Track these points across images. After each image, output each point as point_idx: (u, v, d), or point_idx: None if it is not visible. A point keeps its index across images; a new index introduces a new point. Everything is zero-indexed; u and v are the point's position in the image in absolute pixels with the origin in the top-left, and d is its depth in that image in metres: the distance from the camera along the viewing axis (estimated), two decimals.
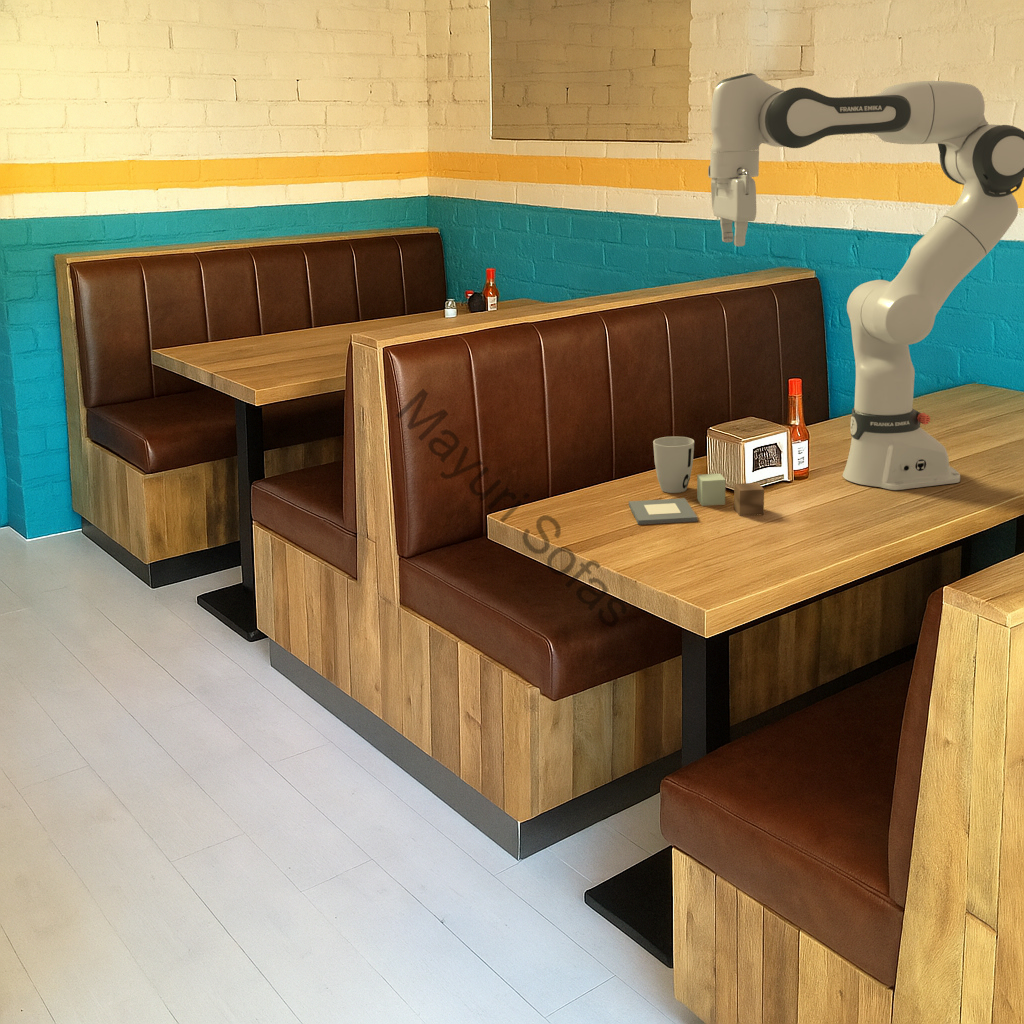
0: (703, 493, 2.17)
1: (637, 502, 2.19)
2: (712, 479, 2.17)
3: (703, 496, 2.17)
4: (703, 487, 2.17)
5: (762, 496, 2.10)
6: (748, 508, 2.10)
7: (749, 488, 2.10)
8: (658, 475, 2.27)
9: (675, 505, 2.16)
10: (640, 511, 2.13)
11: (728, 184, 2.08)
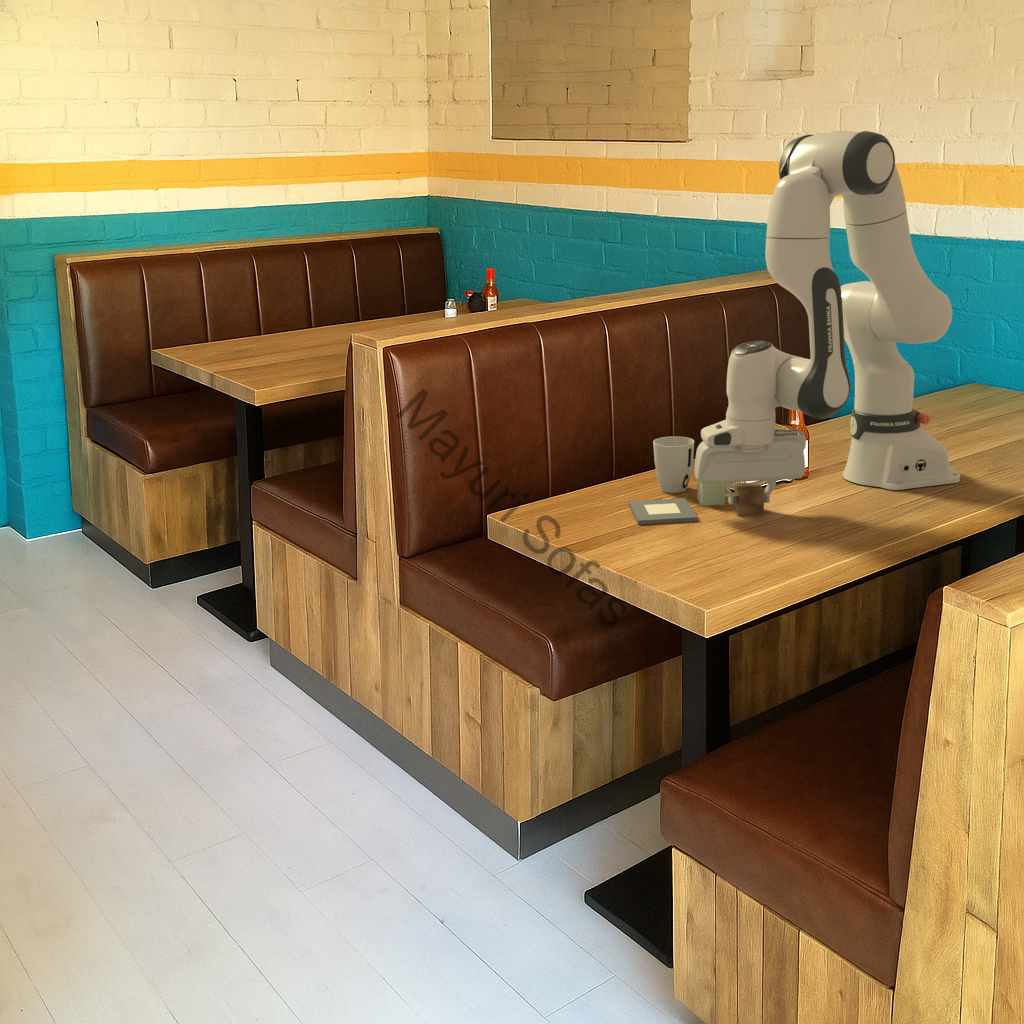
0: (703, 493, 2.17)
1: (637, 502, 2.19)
2: None
3: (703, 496, 2.17)
4: (703, 487, 2.17)
5: (762, 496, 2.10)
6: (748, 508, 2.10)
7: (749, 487, 2.10)
8: (658, 475, 2.27)
9: (675, 505, 2.16)
10: (640, 511, 2.13)
11: (769, 447, 2.07)
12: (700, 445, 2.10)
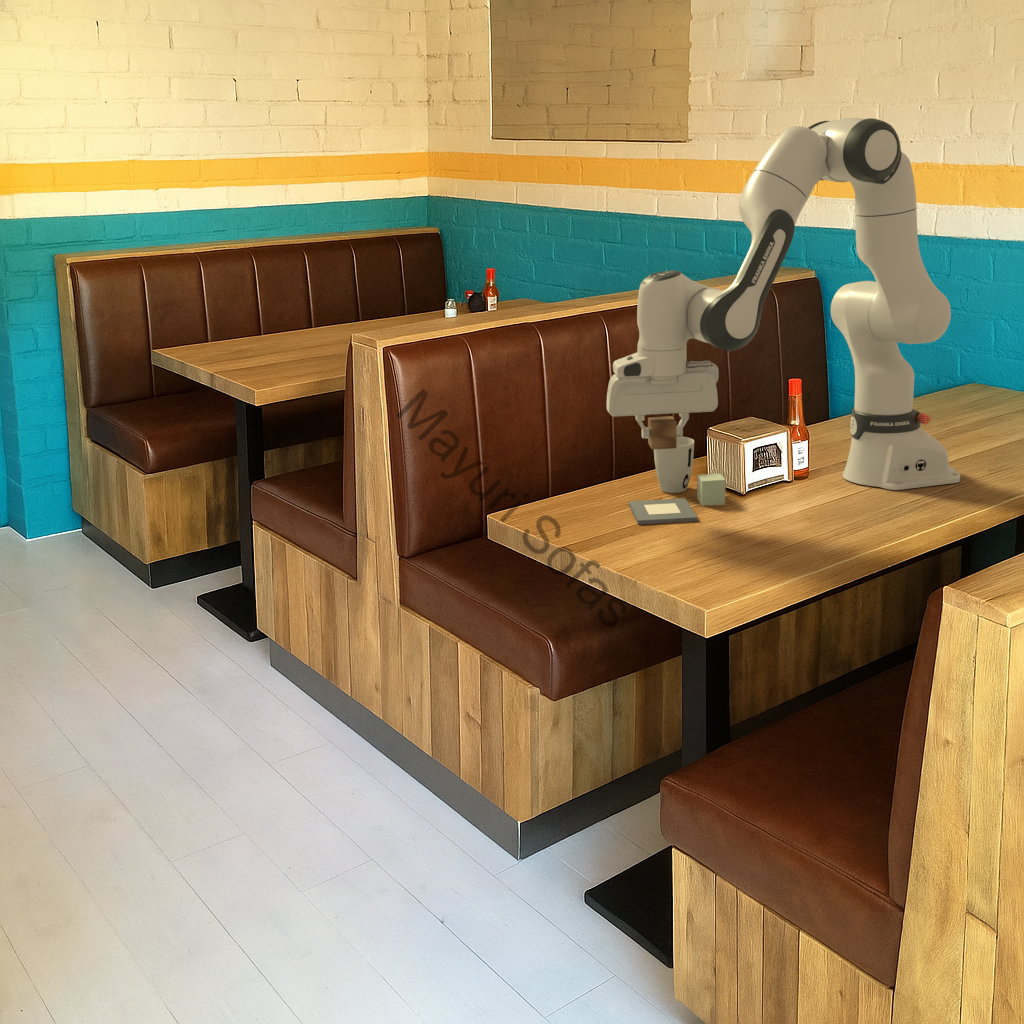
0: (703, 493, 2.17)
1: (637, 502, 2.19)
2: (712, 479, 2.17)
3: (703, 496, 2.17)
4: (703, 487, 2.17)
5: (674, 429, 2.07)
6: (660, 441, 2.08)
7: (661, 420, 2.08)
8: (658, 475, 2.27)
9: (675, 505, 2.16)
10: (640, 511, 2.13)
11: (681, 379, 2.05)
12: (612, 377, 2.07)
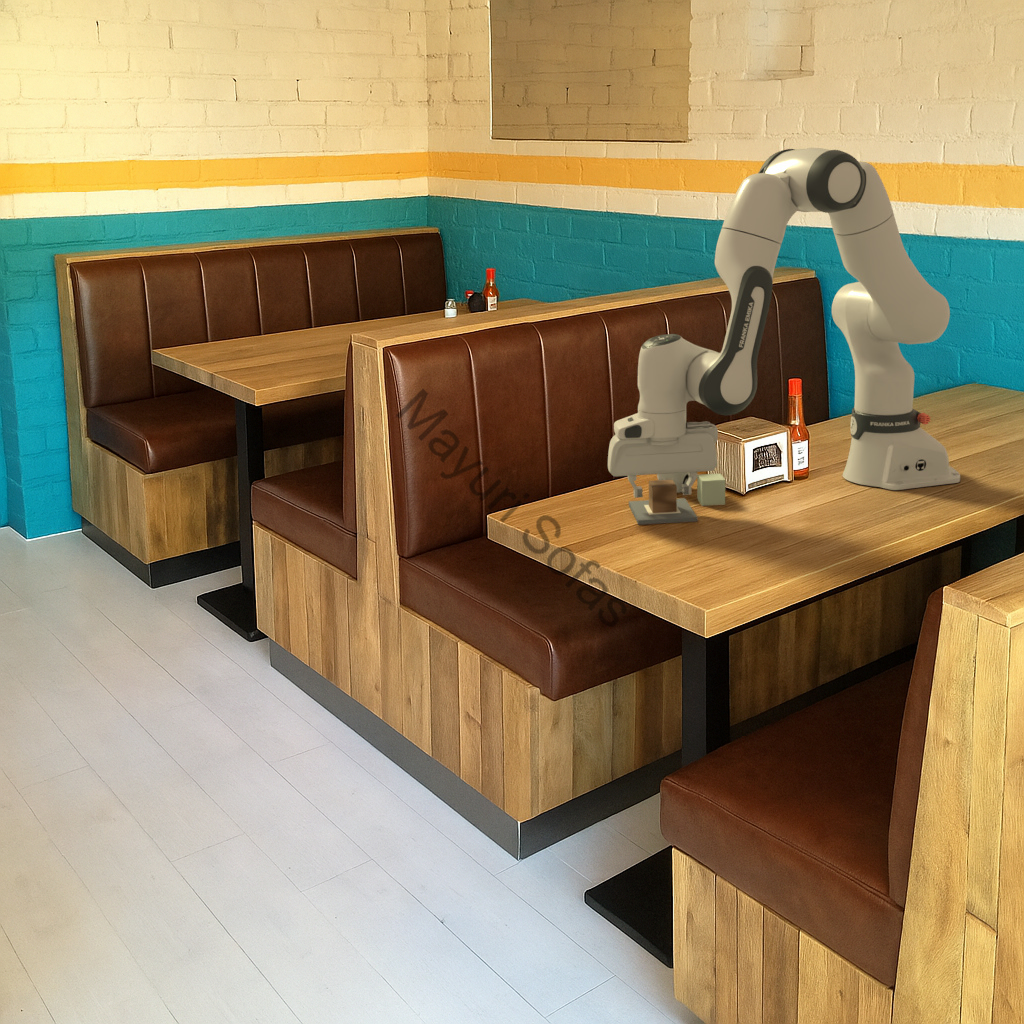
0: (703, 493, 2.17)
1: (637, 502, 2.19)
2: (712, 479, 2.17)
3: (703, 496, 2.17)
4: (703, 487, 2.17)
5: (675, 493, 2.11)
6: (661, 505, 2.12)
7: (662, 485, 2.12)
8: (658, 475, 2.27)
9: None
10: (640, 511, 2.13)
11: (681, 440, 2.08)
12: (613, 438, 2.11)
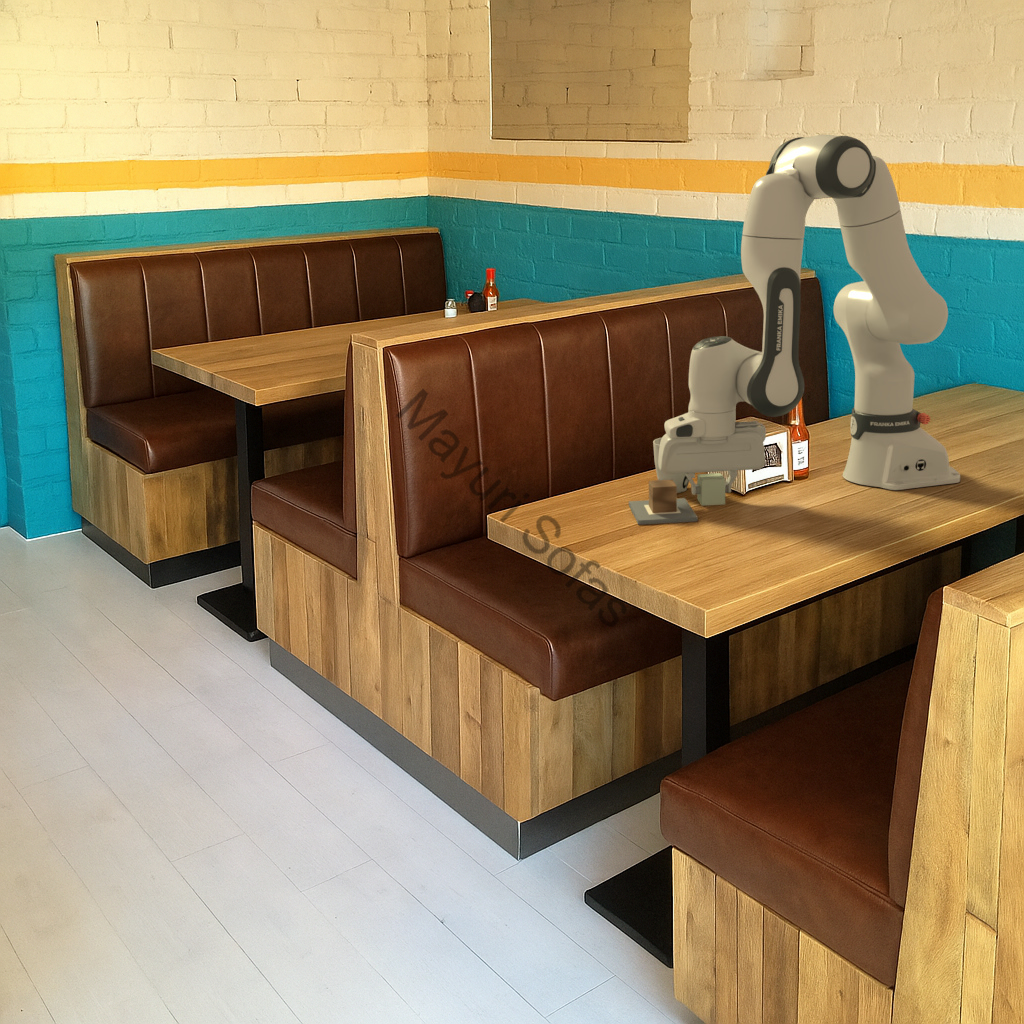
0: (703, 493, 2.17)
1: (637, 502, 2.19)
2: (712, 479, 2.17)
3: (703, 496, 2.17)
4: (703, 487, 2.17)
5: (675, 493, 2.11)
6: (661, 505, 2.12)
7: (662, 485, 2.12)
8: (658, 475, 2.27)
9: None
10: (640, 511, 2.13)
11: (730, 439, 2.14)
12: (663, 437, 2.17)
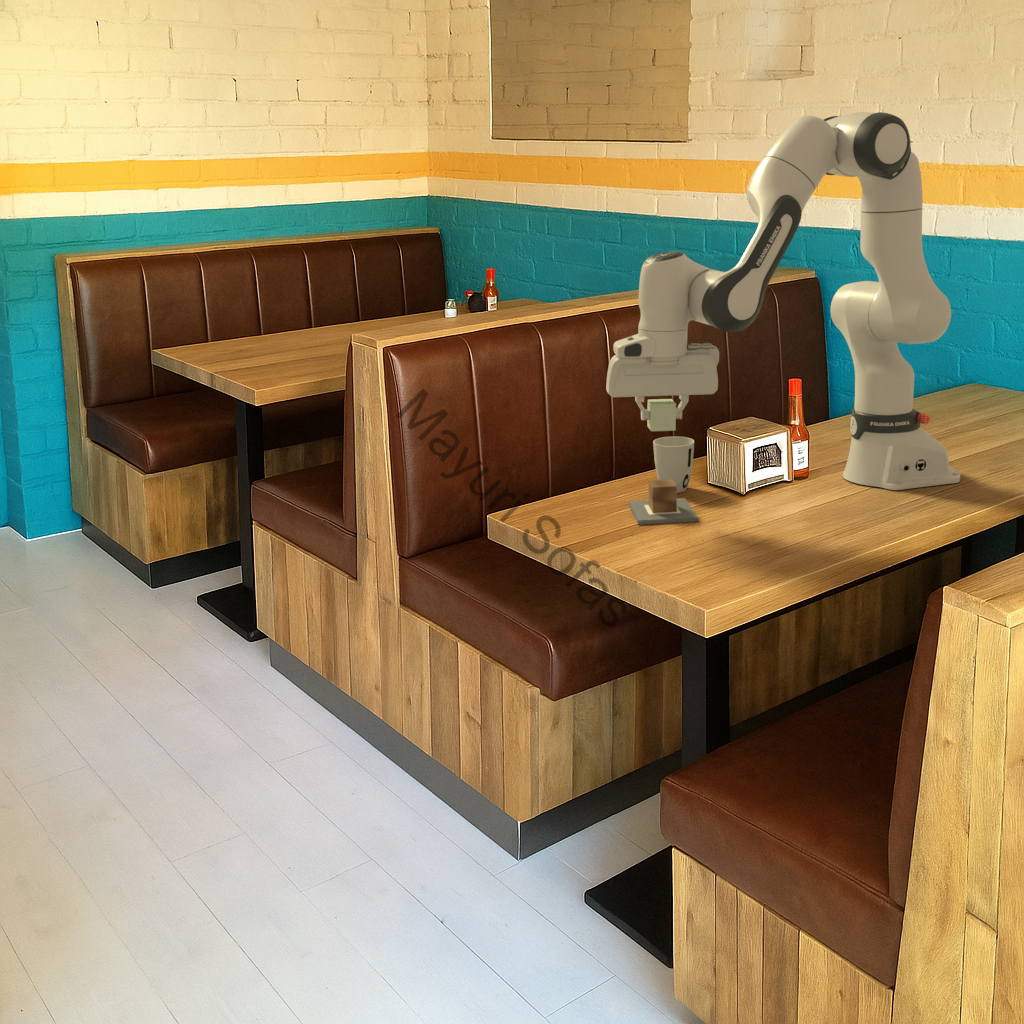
0: (652, 417, 2.06)
1: (637, 502, 2.19)
2: (662, 403, 2.06)
3: (652, 421, 2.07)
4: (652, 411, 2.06)
5: (675, 493, 2.11)
6: (661, 505, 2.12)
7: (662, 485, 2.12)
8: (658, 475, 2.27)
9: None
10: (640, 511, 2.13)
11: (681, 360, 2.04)
12: (612, 358, 2.06)
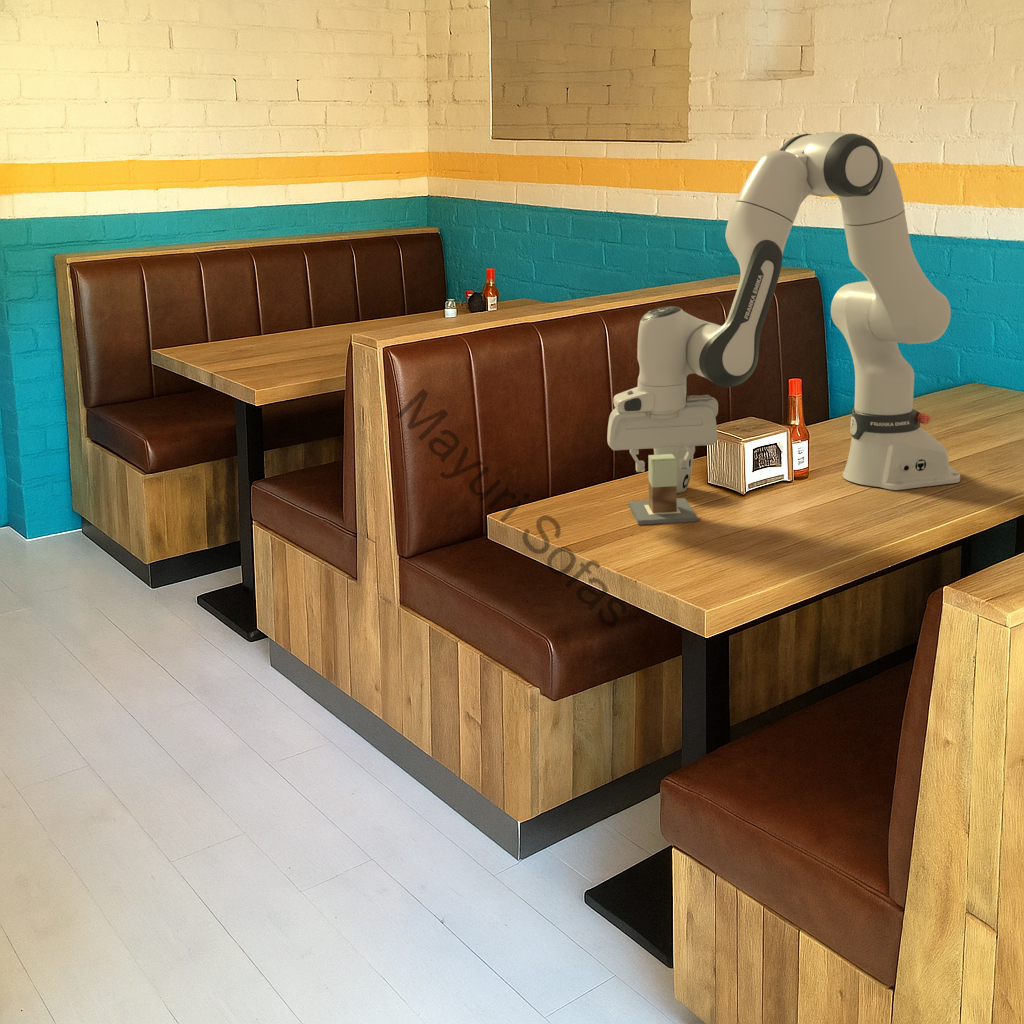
0: (654, 474, 2.10)
1: (637, 502, 2.19)
2: (663, 459, 2.10)
3: (654, 477, 2.10)
4: (653, 468, 2.09)
5: (675, 493, 2.11)
6: (661, 505, 2.12)
7: None
8: None
9: None
10: (640, 511, 2.13)
11: (681, 413, 2.07)
12: (612, 412, 2.09)
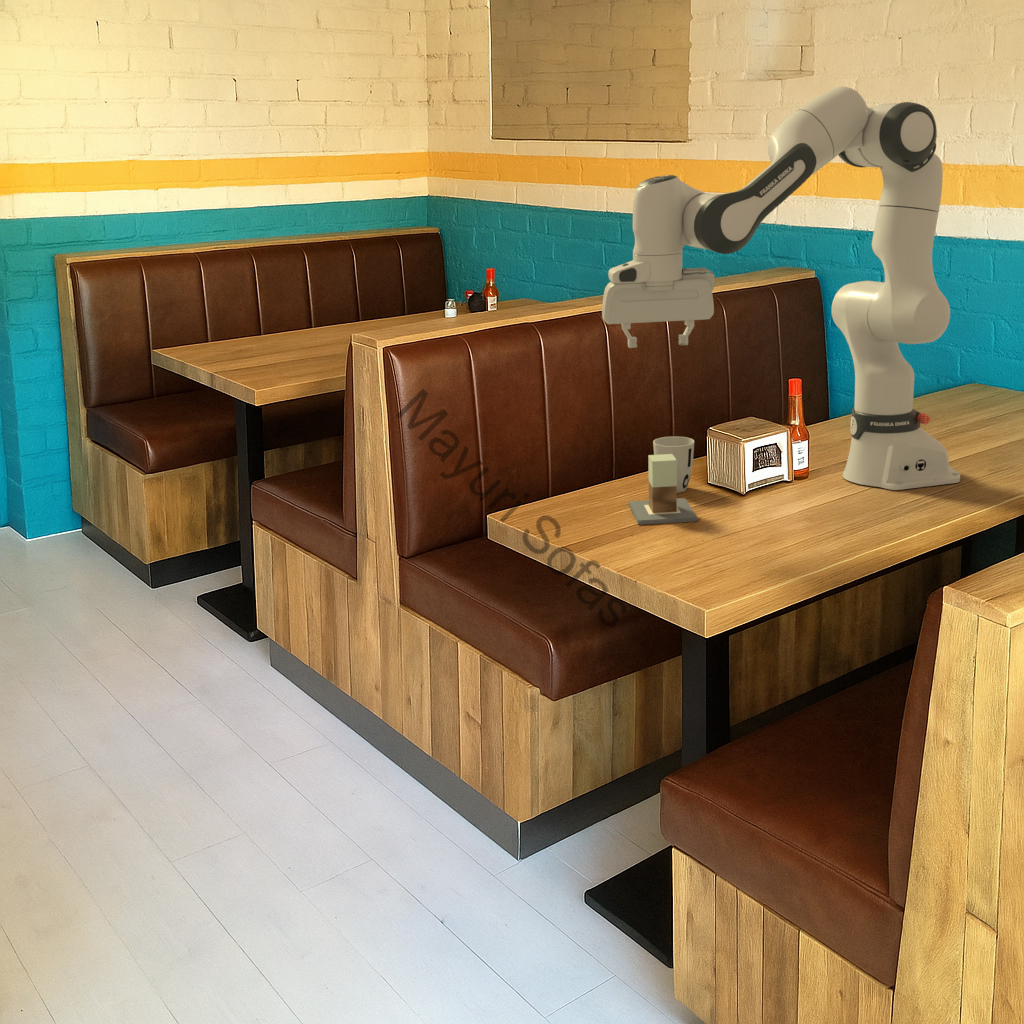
0: (654, 474, 2.10)
1: (637, 502, 2.19)
2: (663, 459, 2.10)
3: (654, 477, 2.10)
4: (653, 468, 2.09)
5: (675, 493, 2.11)
6: (661, 505, 2.12)
7: None
8: None
9: None
10: (640, 511, 2.13)
11: (676, 285, 2.04)
12: (607, 285, 2.06)
